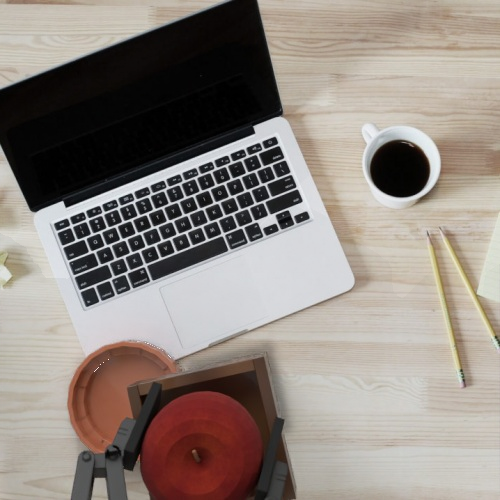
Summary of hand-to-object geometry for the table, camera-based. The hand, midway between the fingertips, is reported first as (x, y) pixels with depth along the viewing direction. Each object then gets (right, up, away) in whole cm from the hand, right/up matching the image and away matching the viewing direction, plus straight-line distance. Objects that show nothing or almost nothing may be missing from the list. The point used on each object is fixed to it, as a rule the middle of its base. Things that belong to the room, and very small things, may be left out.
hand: (216, 410), depth 58 cm
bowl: (-12, -5, +30) cm, 33 cm away
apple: (-1, -3, +4) cm, 5 cm away
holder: (0, -3, +6) cm, 7 cm away
